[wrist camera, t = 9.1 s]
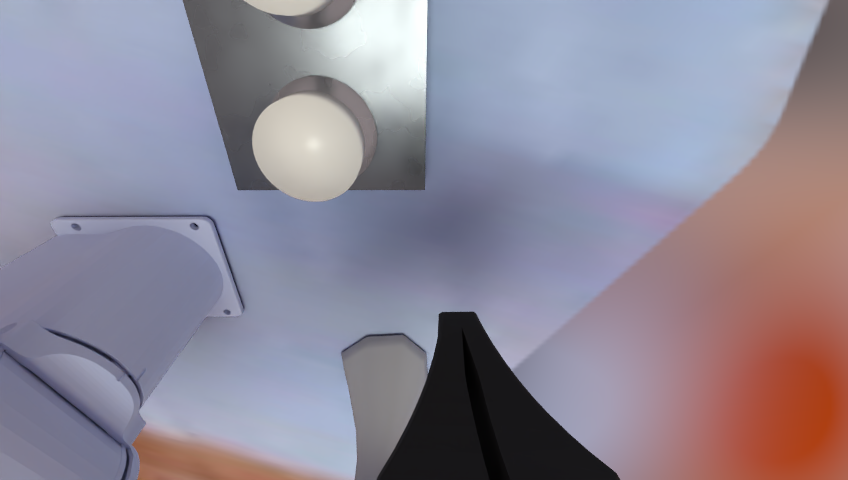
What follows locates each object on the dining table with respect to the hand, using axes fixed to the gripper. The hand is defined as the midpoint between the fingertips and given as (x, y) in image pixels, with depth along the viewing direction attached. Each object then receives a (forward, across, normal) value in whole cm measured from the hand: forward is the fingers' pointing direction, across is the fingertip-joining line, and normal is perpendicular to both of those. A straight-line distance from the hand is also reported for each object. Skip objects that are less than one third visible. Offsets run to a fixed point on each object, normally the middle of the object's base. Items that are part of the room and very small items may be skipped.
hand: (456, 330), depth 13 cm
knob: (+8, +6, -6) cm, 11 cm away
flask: (+10, +4, +14) cm, 18 cm away
